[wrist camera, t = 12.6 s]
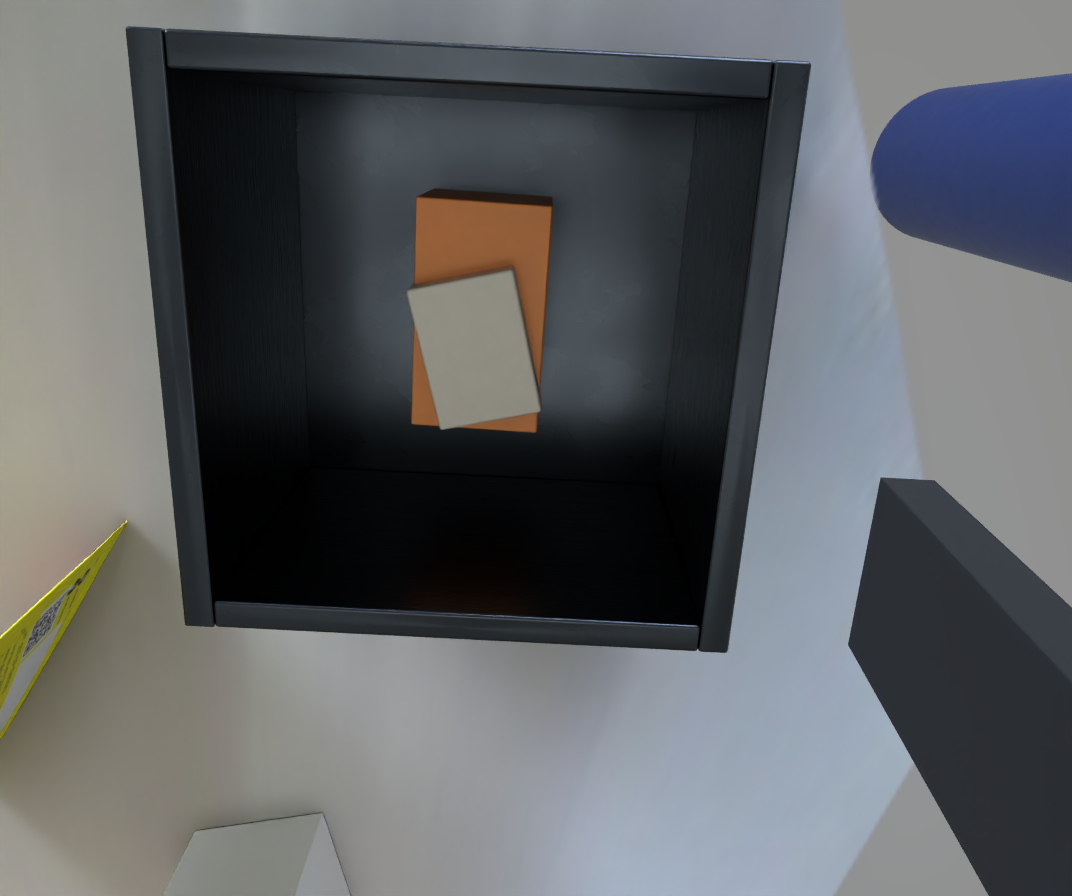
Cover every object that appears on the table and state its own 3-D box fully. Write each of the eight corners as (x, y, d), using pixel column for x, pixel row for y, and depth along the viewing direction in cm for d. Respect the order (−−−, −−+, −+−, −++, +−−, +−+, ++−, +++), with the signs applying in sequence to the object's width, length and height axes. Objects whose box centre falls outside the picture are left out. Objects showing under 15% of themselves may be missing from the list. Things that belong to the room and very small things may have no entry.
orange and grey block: (555, 196, 29) (555, 208, 25) (540, 398, 32) (538, 443, 27) (430, 188, 29) (407, 198, 25) (424, 389, 32) (403, 433, 27)
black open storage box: (720, 87, 29) (812, 61, 19) (674, 496, 34) (728, 654, 24) (275, 63, 29) (124, 26, 19) (295, 477, 34) (184, 626, 23)
